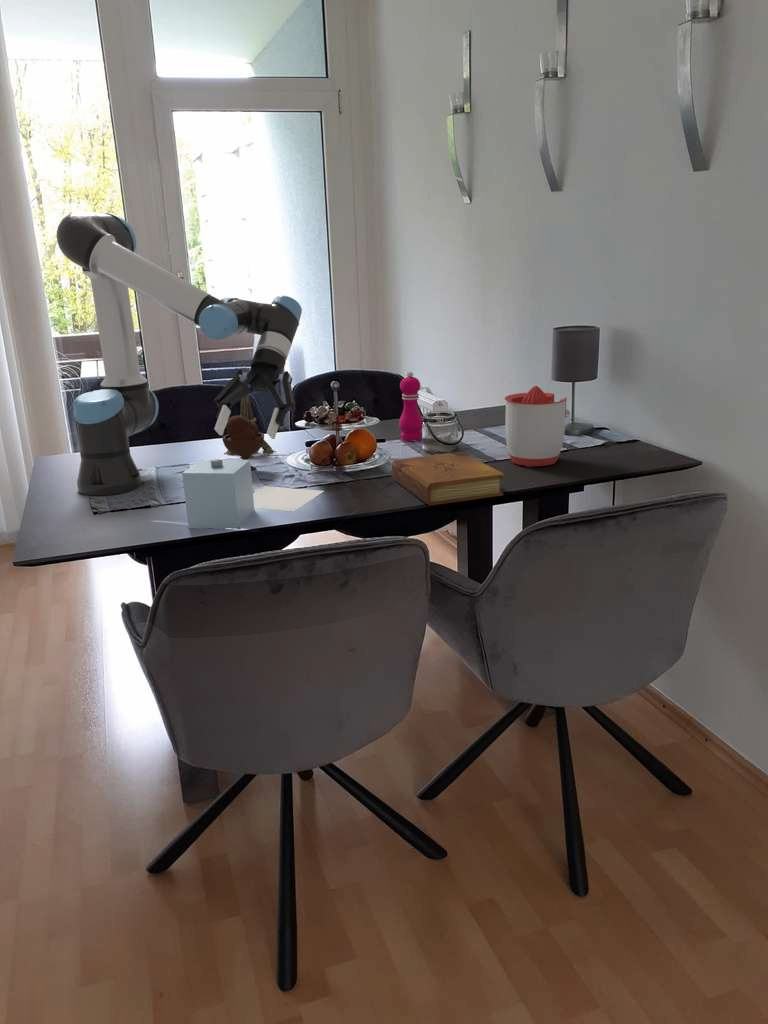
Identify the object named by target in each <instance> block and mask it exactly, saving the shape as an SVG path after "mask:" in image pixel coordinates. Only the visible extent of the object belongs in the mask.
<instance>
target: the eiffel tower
mask: <svg viewBox="0 0 768 1024" xmlns="http://www.w3.org/2000/svg"><path fill="white" fill-rule="evenodd" d="M241 366H242V369H241V371H242V372H244V366H243V365H241ZM251 404H252V403H251V399H250V394H247V395H246V396H245V397H243V398H242V399H241V400H240V413H239V414H240V415H239V416H244V417H245V418H246V419H247V420H250V421H252V422H253V423H255V424H256V425H257V423H256V422H257V421H258V420H257V417H254V413H253V409H252V405H251ZM258 432H260V431H258ZM260 449H262V452H263V453H262V454H266V453H267V455H270V454H269V453H271V454H274V453H273V452H275V453H277V451H276V450H273V448H272V446H270V444H269V443H268V442H267V441H266V440H265V439H264V442H263V445H262V447H261V448H260ZM226 454H227V456H232V454H233V453H231V452H230V451H229V450H228V449H227V450H226V451H225V452H223V455H226ZM233 455H234V454H233ZM253 455H254V454H253ZM253 455H251V456H250V457H249V458H251V459H253V457H254V456H253ZM239 459H241V456H239Z"/></svg>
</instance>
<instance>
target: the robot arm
mask: <svg viewBox="0 0 768 1024" xmlns="http://www.w3.org/2000/svg"><path fill="white" fill-rule="evenodd" d="M56 239H57V245H58V248H59V250H60V251H61V253H62V254H63V255H64V256H65V257H66V258H67V259H68V260H70V261H71V262H73V263H74V264H76V265H77V266H79V267H81V268H82V269H81V270H82V273H83V275H85V276H87V278H89V280H90V286H91V291H92V297H93V303H94V311H95V317H96V324H97V330H98V336H99V337H98V338H99V343H100V350H101V355H102V361H103V362H102V364H103V369H104V375H105V377H104V379H102V381H101V382H100V389H98V390H97V389H96V390H95V389H94V390H92V391H88V392H85V393H82V394H80V395H78V396H77V397H76V398H75V399H74V400H73V403H72V404H73V405H72V406H73V412H72V413H73V415H72V416H73V419H74V423H75V428H76V429H75V431H76V437H77V442H78V447H79V448H78V449H79V453H80V464H79V469H78V473H77V475H78V476H77V481H76V485H77V491H78V492H79V493H80V494H82V495H87V496H109V495H110V496H111V495H115V494H116V495H117V494H122V493H127V492H130V491H132V490H135V489H137V488H139V487H141V486H142V484H143V483H142V475H141V472H140V471H139V469H138V467H137V465H136V463H135V461H134V459H133V457H132V454H131V448H130V442H129V441H130V440H129V437H131V436H133V435H134V434H135V435H136V434H138V433H141V432H144V431H145V430H147V429H148V428H149V427H150V426H151V425H152V424H153V423H154V422H155V421H156V420H157V417H158V415H159V400H158V398H157V395H155V393H154V392H153V391H152V389H150V388H149V383H148V382H149V381H148V379H147V378H146V377H145V376H143V375H142V373H141V368H140V362H139V361H140V360H139V355H138V347H137V340H136V333H135V327H134V320H133V312H132V305H131V299H130V291H129V289H131V290H132V291H134V292H136V293H138V294H140V295H141V296H144V297H145V298H147V299H149V300H150V301H153V302H154V303H156V304H158V305H159V306H162V307H163V308H165V309H166V310H169V311H171V312H172V313H174V314H177V316H180V317H181V318H183V319H184V320H187V321H189V322H190V323H192V324H193V325H196V326H198V327H199V328H200V330H201V331H202V333H203V334H204V335H205V336H206V337H208V338H210V339H212V340H226V339H228V338H231V337H234V336H236V335H240V334H243V333H245V334H251V335H252V334H253V335H258V336H260V337H259V340H258V342H257V345H256V349H255V352H254V354H253V356H252V360H251V362H250V363H251V364H250V369H249V371H248V372H244V371H243V370H242V369H237V370H236V372H235V374H234V376H233V378H232V379H231V380H230V381H229V382H228V383H227V384H226V385H225V386H224V388H223V389H222V390H221V391H220V392H219V393H218V394H217V395H216V396H215V398H214V400H213V402H214V403H215V404H216V405H217V407H218V410H217V413H216V415H215V418H216V419H217V420H216V423H215V426H214V428H213V430H215V432H216V433H217V434H218V435H219V436H224V433H225V429H226V424H227V421H228V420H229V419H230V415H231V412H232V411H231V408H232V407H233V406H235V405H236V404H238V402H241V399H242V398H243V397H245V396H246V395H247V394H249V395H251V394H253V392H257V393H258V392H263V393H268V391H270V393H271V394H272V397H273V399H274V401H275V403H276V405H277V406H278V407H274V409H273V412H272V415H271V419H270V422H269V424H268V428H267V430H266V434H267V435H268V436H269V437H270V439H271V440H275V439H276V435H277V432H278V430H279V427H280V426H282V425H283V423H284V421H285V417H286V415H287V413H288V412H295V411H296V403H295V399H294V394H293V389H292V382H293V377H292V376H291V374H290V372H289V371H288V370H286V371H284V370H285V366H286V364H287V363H286V361H287V360H288V357H289V354H290V351H291V347H292V345H293V341H294V339H295V336H296V333H297V330H298V328H299V326H300V320H301V316H302V313H303V311H302V310H303V309H302V306H301V305H300V303H299V302H298V301H297V300H296V299H294V298H293V297H291V296H288V295H281V296H279V295H278V296H276V297H274V299H273V300H272V302H271V303H264V302H263V303H261V302H256V301H251V300H245V299H240V298H238V297H226V296H225V297H222V298H221V299H218V298H217V297H215V296H213V295H211V294H210V293H208V292H206V291H205V290H203V289H201V288H199V287H197V286H195V285H194V284H192V283H190V282H188V281H187V280H185V279H183V278H181V277H179V276H177V275H175V274H174V273H172V272H170V271H169V270H167V269H164V268H163V267H161V266H159V265H157V264H155V263H154V262H152V261H150V260H148V259H146V258H144V257H143V256H141V255H139V254H137V253H136V249H137V239H136V234H135V232H134V229H133V228H132V226H131V224H129V223H128V222H127V221H126V220H125V219H124V218H122V217H121V216H118V215H116V214H113V213H109V212H102V211H101V212H89V211H75V212H71V213H69V214H67V215H66V216H65V217H63V218H62V219H61V221H60V223H59V224H58V226H57V229H56ZM242 371H243V372H242ZM280 381H281V382H282V383H281V384H282V387H283V392H284V398H285V403H284V400H283V399H282V397H281V395H280V393H279V391H278V389H277V386H276V385H278V383H280ZM248 385H249V386H250V387H249V386H248Z"/></svg>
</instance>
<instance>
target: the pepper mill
mask: <svg viewBox="0 0 768 1024" xmlns="http://www.w3.org/2000/svg"><path fill="white" fill-rule="evenodd" d="M406 376H407V377H403V379H402V380H401V381H400V384H399V389H400V391H401V392H402V394H401V395H402V397H401V399H402V400H403V410H402V413H401V416H400V418H399V423H398V428H399V429H400V430H401V431H402V432H401V433H400V440H402V441H404V442H405V441H406V442H414V441H413V440H418V441H421V440H422V439H423V433H422V432H421V430H422V429H423V427H422V424H423V425H424V420H423V417H422V415H421V413H420V411H419V407H418V400H419V399H420V394H419V393H418V392H420V390H421V382H420V380H419V379H418V378H417V377H414V373H413V372H412V371H408V372H407V374H406ZM421 438H422V439H421ZM420 439H421V440H420Z"/></svg>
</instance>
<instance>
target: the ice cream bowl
mask: <svg viewBox="0 0 768 1024" xmlns="http://www.w3.org/2000/svg"><path fill="white" fill-rule="evenodd" d="M255 423H256V422H255ZM255 423H253V422H252V421H250V420H247V419H246V418H245V417H244V416H240V415H233V416H231V417H229V418H228V421H227V424H226V427H225V429H226V432H227V434H225V435H224V434H223V435H222V442H223V446H224V447H225V449H227V450H229V451H230V452H231V453H233V455H235V456H239V457H241V458H242V459H241V458H240V459H241V460H250V459H249V457H250V456H251V455H255V454H257V452H259V451H260V450H261V449H262V448H261V447H262V445H263V442H264V440H265V433H264V432H260V431H259V426H258V424H257V423H256V424H255ZM258 431H259V432H258ZM254 471H255V472H257V471H258V469H257V467H255V466H253V465H251V472H254Z"/></svg>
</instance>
